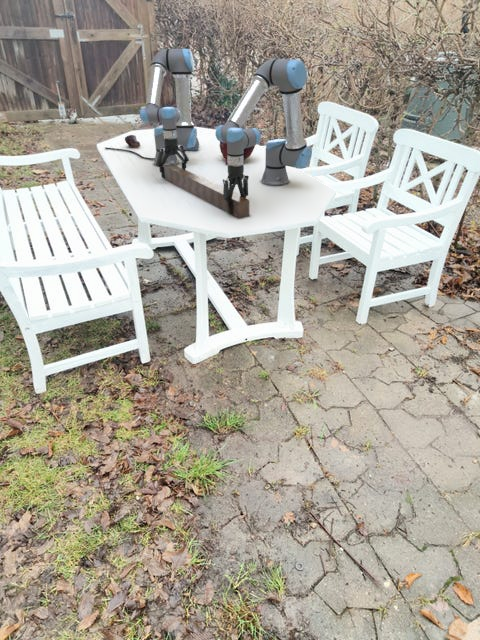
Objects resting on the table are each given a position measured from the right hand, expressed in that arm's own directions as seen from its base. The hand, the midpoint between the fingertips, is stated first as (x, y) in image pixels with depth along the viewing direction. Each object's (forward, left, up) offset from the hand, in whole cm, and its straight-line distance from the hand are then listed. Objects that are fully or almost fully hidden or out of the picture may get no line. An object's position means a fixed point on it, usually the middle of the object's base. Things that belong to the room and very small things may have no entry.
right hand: (236, 212), depth 221 cm
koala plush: (-100, -86, 0) cm, 132 cm away
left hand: (-32, -55, +2) cm, 63 cm away
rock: (-89, -126, 0) cm, 154 cm away
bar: (-16, -28, 0) cm, 32 cm away
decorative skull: (-87, -40, 0) cm, 96 cm away
